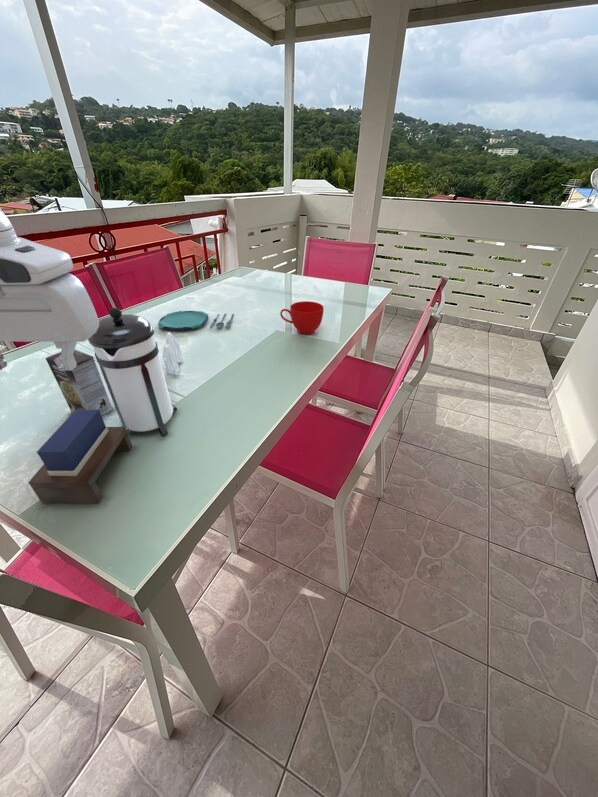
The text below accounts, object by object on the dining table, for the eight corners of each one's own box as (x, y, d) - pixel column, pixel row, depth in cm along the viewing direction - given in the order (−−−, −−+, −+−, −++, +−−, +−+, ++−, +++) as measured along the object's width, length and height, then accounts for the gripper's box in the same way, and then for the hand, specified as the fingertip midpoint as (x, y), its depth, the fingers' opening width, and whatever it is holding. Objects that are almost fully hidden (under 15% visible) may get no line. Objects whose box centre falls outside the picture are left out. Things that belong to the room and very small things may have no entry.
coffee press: (195, 421, 85) (170, 307, 68) (132, 451, 75) (85, 328, 58) (164, 394, 95) (136, 289, 78) (106, 418, 86) (59, 304, 69)
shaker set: (171, 358, 113) (164, 328, 106) (184, 357, 113) (177, 327, 107) (165, 376, 103) (156, 344, 97) (179, 375, 103) (171, 343, 97)
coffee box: (69, 411, 88) (43, 357, 78) (92, 399, 92) (70, 347, 83) (92, 422, 84) (67, 366, 75) (114, 409, 89) (93, 355, 80)
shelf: (42, 503, 64) (27, 482, 60) (85, 446, 77) (75, 426, 73) (99, 503, 64) (88, 482, 60) (132, 446, 77) (125, 426, 73)
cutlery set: (169, 314, 147) (168, 309, 146) (236, 315, 146) (235, 310, 145) (152, 332, 130) (150, 327, 129) (227, 333, 130) (227, 328, 129)
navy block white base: (76, 476, 62) (63, 452, 58) (49, 476, 62) (35, 452, 58) (108, 430, 72) (99, 409, 69) (86, 430, 72) (75, 408, 69)
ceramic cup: (282, 324, 139) (281, 300, 133) (322, 325, 138) (323, 301, 133) (279, 336, 128) (278, 312, 123) (322, 338, 128) (324, 313, 122)
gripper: (-149, 266, 34) (-66, 380, 42) (51, 267, 34) (96, 381, 42) (-90, 253, 39) (-26, 357, 47) (83, 254, 39) (118, 357, 47)
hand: (33, 368), depth 44 cm, fingers open, 8 cm apart
